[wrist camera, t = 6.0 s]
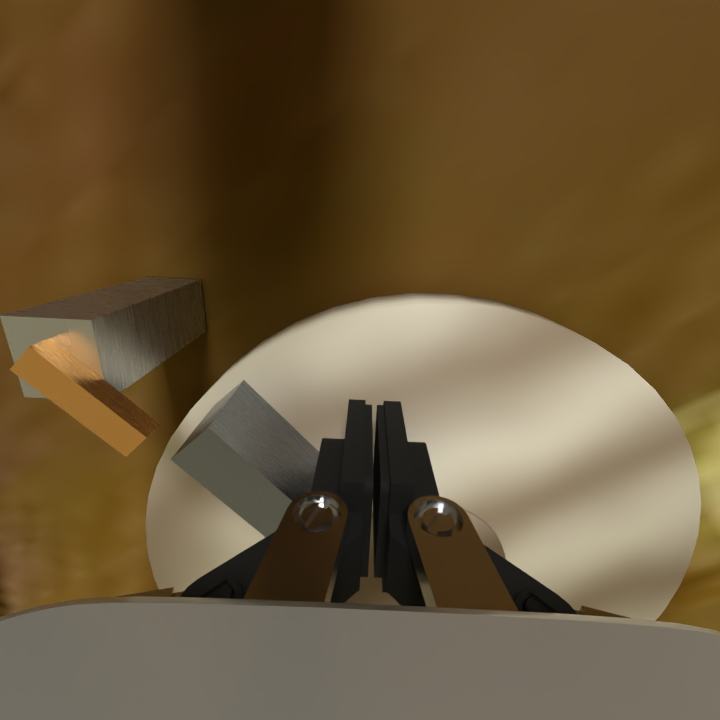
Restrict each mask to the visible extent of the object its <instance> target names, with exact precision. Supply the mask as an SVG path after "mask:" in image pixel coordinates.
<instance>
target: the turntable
mask: <svg viewBox="0 0 720 720" xmlns="http://www.w3.org/2000/svg"><path fill="white" fill-rule="evenodd" d="M349 399H355V400H366V404H369V405H372V428H373V462H374V445H375V428H376V411H377V405H383V402H384V401H401V406H402V411H403V417H404V423H405V429H406V434H407V440H408V442H425V443H426V445H427V449H428V453H429V457H430V461H431V465H432V469H433V473H434V477H435V481H436V485H437V488H438V492H439V496H440V497H444V498H448V499H450V500H452V501H454V502H456V503H457V504H458V505H459V506H461V507H462V508H463V509H464V511H465V512H466V513H467V515H468V516H469V518H470V520H471V522H472V524H473V526H474V528H475V530H476V531H477V533H478V535H479V537H480V539H481V541H482V543H483V544H484V545H485V546H487V547H488V548H490V549H491V550H493V551H494V552H496V553H497V554H499V555H500V556H502V557H503V558H504V559H506V560H507V561H509V562H510V563H512V564H513V565H515V566H516V567H518V568H519V569H521V570H522V571H524V572H525V573H527V574H528V575H530V576H531V577H533V578H534V579H536V580H537V581H539V582H540V583H541V584H543V585H544V586H546V587H547V588H549V589H550V590H552V591H553V592H555V593H556V594H558V595H559V596H560V597H561V598H563V599H564V600H565V601H566V602H568V603H569V604H570V606H571V607H572V608H573V609H574V610H578V611H580V608H581V606H586V607H590V608H594V609H598V610H602V611H605V612H609V613H613V614H617V615H621V616H625V617H629V618H633V619H643V620H651V621H655V620H656V619H657V618H658V617H659V616H660V615H661V613H662V612H663V611H664V610H665V608H666V607H667V605H668V603H669V602H670V600H671V599H672V597H673V596H674V594H675V592H676V591H677V589H678V588H679V586H680V584H681V582H682V580H683V577H684V575H685V573H686V571H687V568H688V566H689V564H690V562H691V559H692V555H693V552H694V548H695V544H696V541H697V537H698V533H699V523H700V512H701V497H700V485H699V475H698V471H697V468H696V464H695V461H694V457H693V454H692V450H691V447H690V444H689V442H688V440H687V438H686V436H685V434H684V432H683V430H682V428H681V426H680V424H679V422H678V420H677V418H676V417H675V415H674V414H673V413H672V411H671V410H670V409H669V407H668V406H667V405H666V404H665V402H664V401H663V400H662V398H661V397H660V396H659V394H658V393H657V392H656V390H655V389H654V388H653V387H652V386H650V385H649V384H648V383H647V382H646V381H645V380H644V379H643V378H642V377H641V376H640V375H639V374H638V373H636V372H635V371H634V370H633V369H632V368H631V367H630V366H629V365H628V364H626V363H625V362H623V361H622V360H620V359H619V358H617V357H616V356H614V355H613V354H611V353H610V352H608V351H607V350H605V349H603V348H602V347H600V346H599V345H597V344H596V343H594V342H592V341H590V340H589V339H587V338H585V337H583V336H581V335H579V334H577V333H575V332H573V331H572V330H570V329H568V328H566V327H564V326H562V325H560V324H558V323H555V322H553V321H551V320H549V319H547V318H545V317H542V316H540V315H538V314H536V313H534V312H531V311H529V310H526V309H523V308H519V307H516V306H512V305H509V304H506V303H502V302H499V301H495V300H492V299H485V298H479V297H472V296H465V295H459V294H447V293H407V294H398V295H390V296H381V297H372V298H368V299H364V300H360V301H356V302H352V303H348V304H344V305H340V306H336V307H332V308H330V309H327V310H325V311H322V312H320V313H317V314H314V315H312V316H309V317H307V318H304V319H302V320H299V321H297V322H295V323H293V324H291V325H290V326H288V327H286V328H284V329H282V330H281V331H279V332H277V333H275V334H273V335H272V336H270V337H268V338H266V339H265V340H263V341H262V342H261V343H259V344H258V345H257V346H255V347H254V348H253V349H251V350H250V351H249V352H247V353H246V354H245V355H243V356H242V357H241V358H240V359H238V360H237V361H236V362H235V363H234V364H233V365H232V366H231V367H230V368H229V369H228V370H227V371H226V372H225V373H224V374H223V375H222V376H221V377H220V378H219V379H218V380H217V381H216V382H215V383H214V384H213V385H212V386H211V388H210V389H209V390H208V391H207V392H206V393H205V394H204V395H203V396H202V398H201V399H200V400H199V401H198V402H197V403H196V404H195V405H194V406H193V408H192V409H191V410H190V411H189V413H188V414H187V415H186V417H185V418H184V420H183V421H182V423H181V424H180V425H179V427H178V428H177V430H176V431H175V432H174V434H173V435H172V437H171V438H170V440H169V442H168V444H167V446H166V449H165V451H164V453H163V455H162V457H161V459H160V461H159V463H158V465H157V467H156V471H155V474H154V478H153V481H152V485H151V488H150V492H149V495H148V504H147V514H146V524H145V525H146V538H147V551H148V556H149V560H150V564H151V568H152V572H153V576H154V579H155V581H156V584H157V586H158V588H159V589H165V588H171V587H174V591H175V593H176V592H182V591H185V589H186V588H187V587H188V586H189V585H190V584H192V583H193V582H194V581H196V580H197V579H198V578H200V577H202V576H203V575H205V574H207V573H208V572H210V571H211V570H213V569H215V568H216V567H218V566H220V565H221V564H223V563H225V562H226V561H228V560H229V559H231V558H233V557H234V556H236V555H238V554H239V553H241V552H243V551H244V550H246V549H247V548H249V547H251V546H252V545H254V544H256V543H257V542H259V541H261V540H262V539H264V538H265V537H267V536H269V535H270V534H272V533H274V532H275V531H276V530H277V528H278V526H279V524H280V522H281V520H282V518H283V516H284V514H285V512H286V510H287V508H288V506H289V505H290V503H291V502H292V501H293V500H294V499H295V498H297V497H298V496H300V495H302V494H304V493H307V492H311V489H312V484H313V480H314V475H315V470H316V465H317V460H318V456H319V451H320V446H321V441H322V438H334V439H345V431H346V422H347V413H348V403H349ZM345 603H352V604H375V605H397V606H398V602H397V601H396V600H395V599H394V598H393V597H392V596H390V595H389V594H388V593H385V592H382V578H374V547H373V502H372V518H371V535H370V551H369V567H368V577H360V590H359V591H357V592H356V593H355V594H354V595H353V596H352V597H350V598H349V599H348V600H347V601H346V602H345Z"/></svg>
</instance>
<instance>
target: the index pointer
mask: <svg viewBox="0 0 720 720" xmlns="http://www.w3.org/2000/svg"><path fill="white" fill-rule="evenodd" d="M0 318H1V321H2V325H3V328H4V331H5V334H6V338H7V341H8V344H9V348H10V351H11V354H12V358H13V361H14V365H13V366H12V368H11V369H10V370H11V371H12V372H13V373H15V374H16V375H17V376H18V377H19V381H20V384H21V387H22V391H23V394H24V397H35V398H48V399H49V400H51V401H52V402H53V403H55V404H56V405H57V406H59V407H60V408H61V409H63V410H64V411H65V412H67V413H68V414H69V415H71V416H72V417H73V418H75V419H76V420H77V421H79V422H80V423H81V424H83V425H84V426H85V427H87V428H88V429H89V430H91V431H92V432H93V433H95V434H96V435H97V436H99V437H100V438H101V439H103V440H104V441H105V442H107V443H108V444H109V445H111V446H112V447H113V448H115V449H116V450H117V451H119V452H120V453H121V454H123V455H124V456H125V457H126V456H127V455H129V454H130V453H131V452H132V451H133V450H134V449H135V448H136V447H137V446H138V445H139V444H140V443H141V442H142V441H143V440H144V439H145V438H146V437H147V436H148V435H149V434H150V433H151V432H152V431H153V430H154V429H155V428H156V427H157V426H158V425H159V423H158V422H156V421H155V420H154V419H153V418H151V417H150V416H149V415H148V414H146V413H145V412H144V411H143V410H141V409H140V408H139V407H138V406H136V405H135V404H134V403H133V402H131V401H130V400H129V399H128V398H126V397H125V396H124V395H123V394H121V393H120V392H122V391H123V390H124V389H126V388H127V387H129V386H130V385H131V384H133V383H134V382H136V381H137V380H138V379H140V378H141V377H143V376H144V375H145V374H147V373H148V372H150V371H151V370H152V369H154V368H155V367H157V366H158V365H159V364H161V363H162V362H164V361H165V360H166V359H168V358H169V357H171V356H172V355H173V354H175V353H176V352H178V351H179V350H180V349H182V348H183V347H185V346H186V345H187V344H189V343H190V342H192V341H193V340H194V339H196V338H197V337H199V336H200V335H201V334H203V333H204V332H206V321H205V311H204V301H203V291H202V281H201V279H185V278H166V277H144V278H140V279H136V280H132V281H129V282H125V283H121V284H117V285H114V286H110V287H106V288H102V289H98V290H95V291H91V292H87V293H83V294H80V295H76V296H72V297H68V298H64V299H61V300H57V301H53V302H49V303H46V304H42V305H38V306H34V307H31V308H27V309H23V310H19V311H15V312H12V313H8V314H4V315H0Z"/></svg>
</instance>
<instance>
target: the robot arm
mask: <svg viewBox="0 0 720 720" xmlns="http://www.w3.org/2000/svg"><path fill="white" fill-rule="evenodd" d="M372 502H373V547H374V578H382V592H385V593H388V594H389V595H390V596H392V597H393V598H394V599H395V600H396V601H397V602H398V606H397V605H375V604H352V603H345V602H346V601H347V600H348V599H349V598H350V597H352V596H353V595H354V594H355V593H356V592H357V591H359V590H360V577H368V567H369V551H370V535H371V518H372ZM0 720H720V631H716V630H712V629H707V628H702V627H696V626H690V625H685V624H679V623H672V622H661V621H651V620H643V619H633V618H629V617H625V616H621V615H617V614H613V613H609V612H605V611H602V610H598V609H594V608H590V607H586V606H581V608H580V611H578V610H574V609H573V608H572V607H571V606H570V604H569V603H568V602H566V601H565V600H564V599H563V598H561V597H560V596H559V595H558V594H556V593H555V592H553V591H552V590H550V589H549V588H547V587H546V586H544V585H543V584H541V583H540V582H539V581H537V580H536V579H534V578H533V577H531V576H530V575H528V574H527V573H525V572H524V571H522V570H521V569H519V568H518V567H516V566H515V565H513V564H512V563H510V562H509V561H507V560H506V559H504V558H503V557H502V556H500V555H499V554H497V553H496V552H494V551H493V550H491V549H490V548H488V547H487V546H485V545H484V544H483V543H482V541H481V539H480V537H479V535H478V533H477V531H476V530H475V528H474V526H473V524H472V522H471V520H470V518H469V516H468V515H467V513H466V512H465V511H464V509H463V508H462V507H461V506H459V505H458V504H457V503H456V502H454V501H452V500H450V499H448V498H444V497H440V496H439V492H438V488H437V485H436V481H435V477H434V473H433V469H432V465H431V461H430V457H429V453H428V449H427V445H426V443H425V442H408V440H407V434H406V429H405V423H404V417H403V411H402V406H401V401H384V402H383V405H377V411H376V428H375V445H374V462H373V428H372V405H369V404H366V400H355V399H349V403H348V413H347V422H346V431H345V439H334V438H322V441H321V446H320V451H319V456H318V460H317V465H316V470H315V475H314V480H313V484H312V489H311V492H307V493H304V494H302V495H300V496H298V497H297V498H295V499H294V500H293V501H292V502H291V503H290V505H289V506H288V508H287V510H286V512H285V514H284V516H283V518H282V520H281V522H280V524H279V526H278V528H277V530H276V531H275V532H274V533H272V534H270V535H269V536H267V537H265V538H264V539H262V540H261V541H259V542H257V543H256V544H254V545H252V546H251V547H249V548H247V549H246V550H244V551H243V552H241V553H239V554H238V555H236V556H234V557H233V558H231V559H229V560H228V561H226V562H225V563H223V564H221V565H220V566H218V567H216V568H215V569H213V570H211V571H210V572H208V573H207V574H205V575H203V576H202V577H200V578H198V579H197V580H196V581H194V582H193V583H192V584H190V585H189V586H188V587H187V588H186V589H185V591H182V592H176V593H175V591H174V587H171V588H165V589H159V590H153V591H148V592H142V593H136V594H130V595H124V596H118V597H99V598H88V599H77V600H70V601H64V602H59V603H53V604H48V605H42V606H37V607H34V608H30V609H27V610H23V611H20V612H16V613H13V614H9V615H6V616H2V617H0Z"/></svg>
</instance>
